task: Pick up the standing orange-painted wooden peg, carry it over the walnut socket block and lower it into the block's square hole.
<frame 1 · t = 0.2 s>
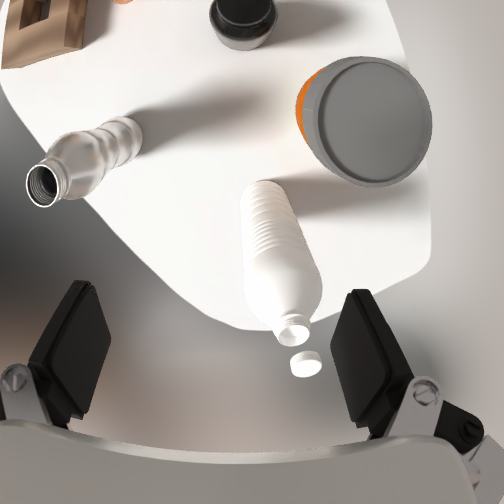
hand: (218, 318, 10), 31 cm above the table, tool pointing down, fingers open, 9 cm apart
supplement bottle: (242, 28, 28), on the table
plastic bottle: (125, 137, 35), on the table
socket block: (53, 11, 22), on the table
water bottle: (266, 207, 42), on the table
reusable coffee cup: (328, 109, 35), on the table
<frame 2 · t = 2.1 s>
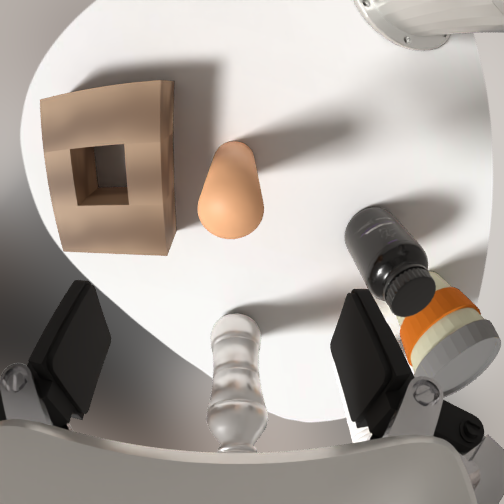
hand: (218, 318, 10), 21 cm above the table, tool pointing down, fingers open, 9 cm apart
supplement bottle: (368, 230, 33), on the table
plastic bottle: (235, 323, 40), on the table
peg: (233, 160, 28), on the table
socket block: (118, 161, 27), on the table
water bottle: (350, 361, 46), on the table
reusable coffee cup: (418, 294, 39), on the table
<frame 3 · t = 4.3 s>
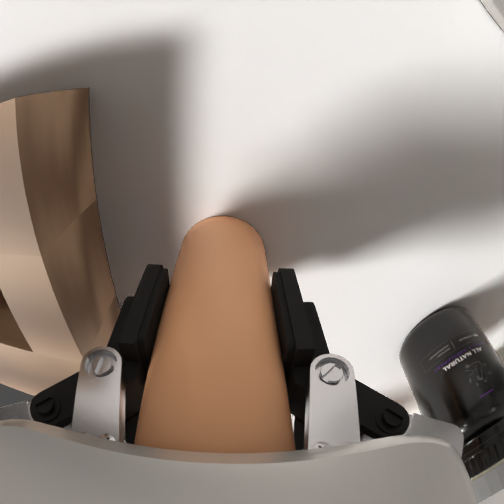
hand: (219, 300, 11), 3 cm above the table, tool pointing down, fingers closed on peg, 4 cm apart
supplement bottle: (432, 334, 19), on the table
peg: (222, 254, 14), on the table, touching gripper
socket block: (22, 247, 13), on the table
reusable coffee cup: (465, 381, 25), on the table
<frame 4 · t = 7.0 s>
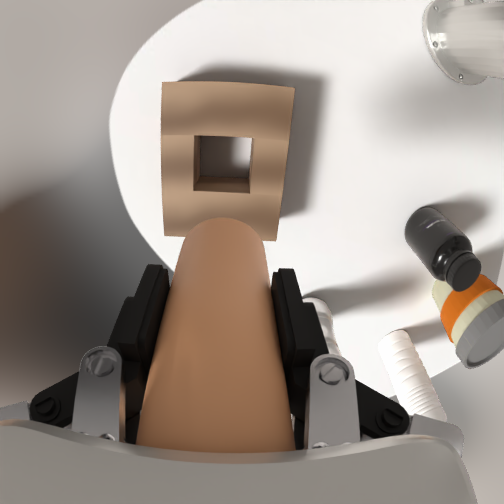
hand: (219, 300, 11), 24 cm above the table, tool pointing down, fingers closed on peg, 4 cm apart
supplement bottle: (421, 226, 37), on the table
plastic bottle: (306, 306, 44), on the table
peg: (222, 256, 14), point 20 cm above the table, touching gripper
socket block: (225, 153, 31), on the table
water bottle: (392, 343, 50), on the table
reusable coffee cup: (451, 282, 43), on the table
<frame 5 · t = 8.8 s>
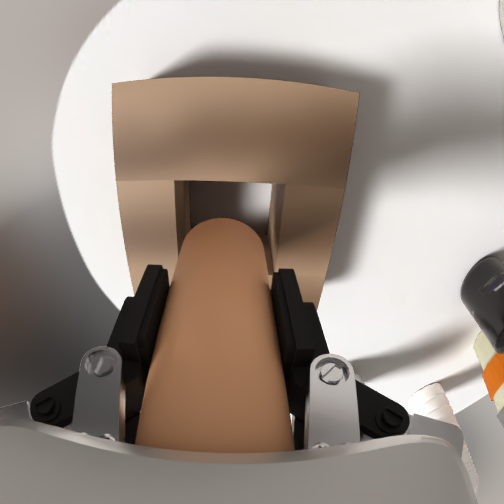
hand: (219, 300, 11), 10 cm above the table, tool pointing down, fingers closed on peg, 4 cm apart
supplement bottle: (478, 278, 26), on the table
peg: (222, 256, 14), point 7 cm above the table, touching gripper
socket block: (230, 197, 20), on the table
water bottle: (423, 395, 39), on the table
reusable coffee cup: (494, 329, 32), on the table
when the fingers open (6 cm above the table, at t = 10.0 s): peg drops 3 cm, resting in socket block.
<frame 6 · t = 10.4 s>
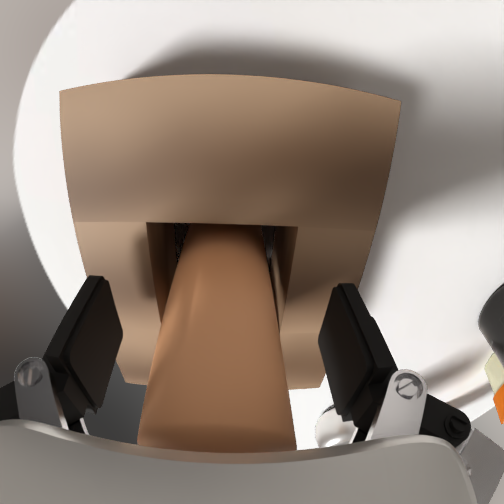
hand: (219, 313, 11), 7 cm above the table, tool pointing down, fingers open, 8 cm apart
supplement bottle: (497, 304, 22), on the table
plastic bottle: (339, 409, 29), on the table
peg: (225, 230, 16), resting in socket block
socket block: (224, 229, 16), on the table
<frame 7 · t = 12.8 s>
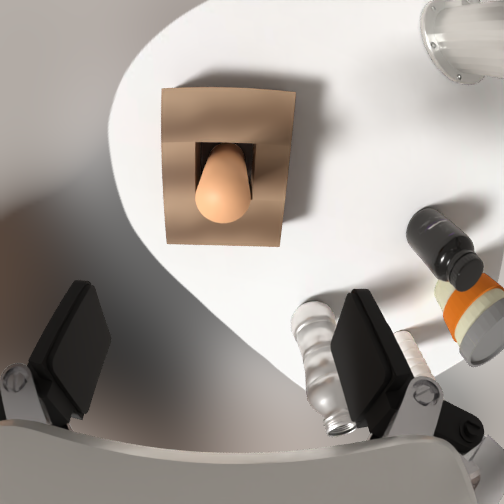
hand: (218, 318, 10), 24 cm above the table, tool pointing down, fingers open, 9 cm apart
supplement bottle: (422, 227, 37), on the table
plastic bottle: (309, 310, 44), on the table
peg: (226, 159, 31), resting in socket block
socket block: (226, 159, 31), on the table
water bottle: (395, 344, 50), on the table
reusable coffee cup: (452, 281, 43), on the table
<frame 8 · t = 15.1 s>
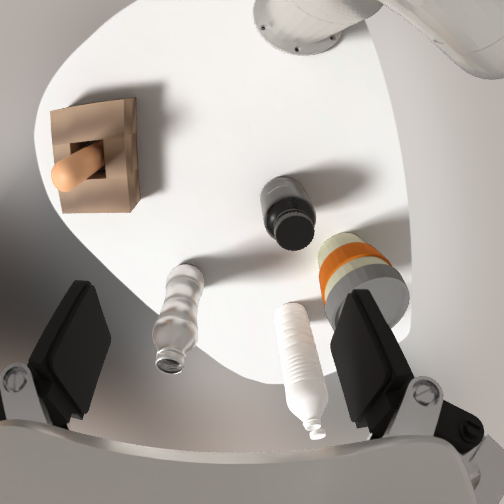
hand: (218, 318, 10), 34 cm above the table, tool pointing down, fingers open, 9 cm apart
supplement bottle: (281, 196, 44), on the table
plastic bottle: (187, 274, 51), on the table
peg: (102, 152, 39), resting in socket block
socket block: (101, 152, 39), on the table
water bottle: (291, 317, 58), on the table
reusable coffee cup: (341, 254, 51), on the table
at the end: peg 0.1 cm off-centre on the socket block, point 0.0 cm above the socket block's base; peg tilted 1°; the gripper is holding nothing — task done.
